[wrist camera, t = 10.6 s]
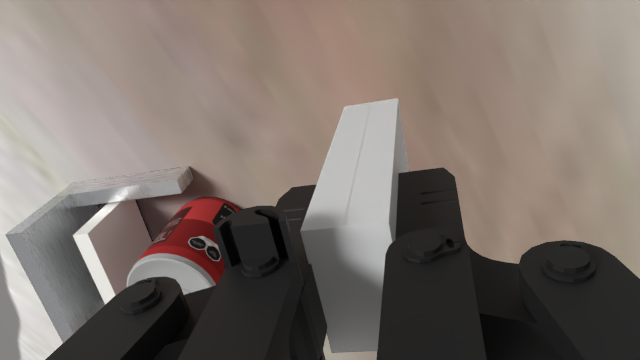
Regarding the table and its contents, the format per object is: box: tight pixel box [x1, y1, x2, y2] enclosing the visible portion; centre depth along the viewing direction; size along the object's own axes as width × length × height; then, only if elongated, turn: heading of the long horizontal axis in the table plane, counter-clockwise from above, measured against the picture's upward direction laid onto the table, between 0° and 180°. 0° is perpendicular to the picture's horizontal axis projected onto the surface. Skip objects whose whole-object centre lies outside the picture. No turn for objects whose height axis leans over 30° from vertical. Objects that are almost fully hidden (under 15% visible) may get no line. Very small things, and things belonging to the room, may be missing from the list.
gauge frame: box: [5, 166, 193, 343], centre depth 50 cm, size 14×13×10 cm
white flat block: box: [73, 199, 152, 304], centre depth 51 cm, size 13×2×8 cm, turn 12°
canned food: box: [126, 197, 240, 295], centre depth 48 cm, size 8×8×11 cm
